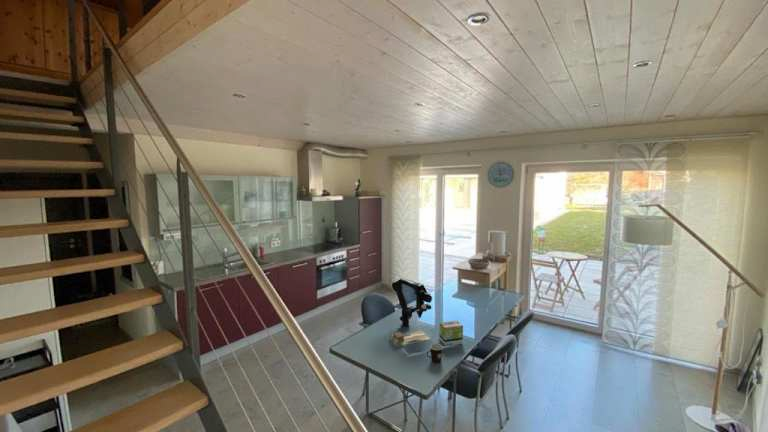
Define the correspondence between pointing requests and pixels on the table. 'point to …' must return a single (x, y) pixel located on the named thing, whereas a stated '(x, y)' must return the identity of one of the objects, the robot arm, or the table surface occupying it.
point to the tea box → (451, 333)
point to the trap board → (409, 338)
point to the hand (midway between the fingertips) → (419, 318)
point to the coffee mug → (436, 352)
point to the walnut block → (399, 337)
